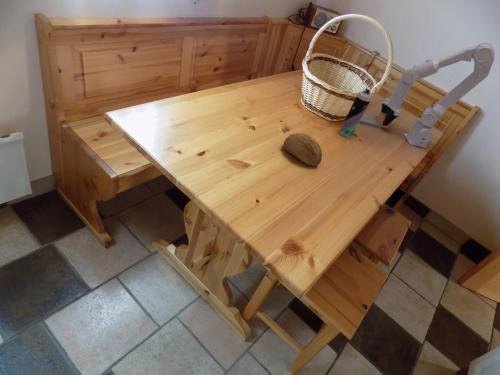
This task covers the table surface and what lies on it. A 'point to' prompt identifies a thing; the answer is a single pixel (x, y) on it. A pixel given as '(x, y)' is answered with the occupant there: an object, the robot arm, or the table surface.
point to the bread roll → (304, 148)
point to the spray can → (355, 113)
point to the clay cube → (382, 120)
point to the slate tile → (369, 120)
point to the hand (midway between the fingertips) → (382, 122)
